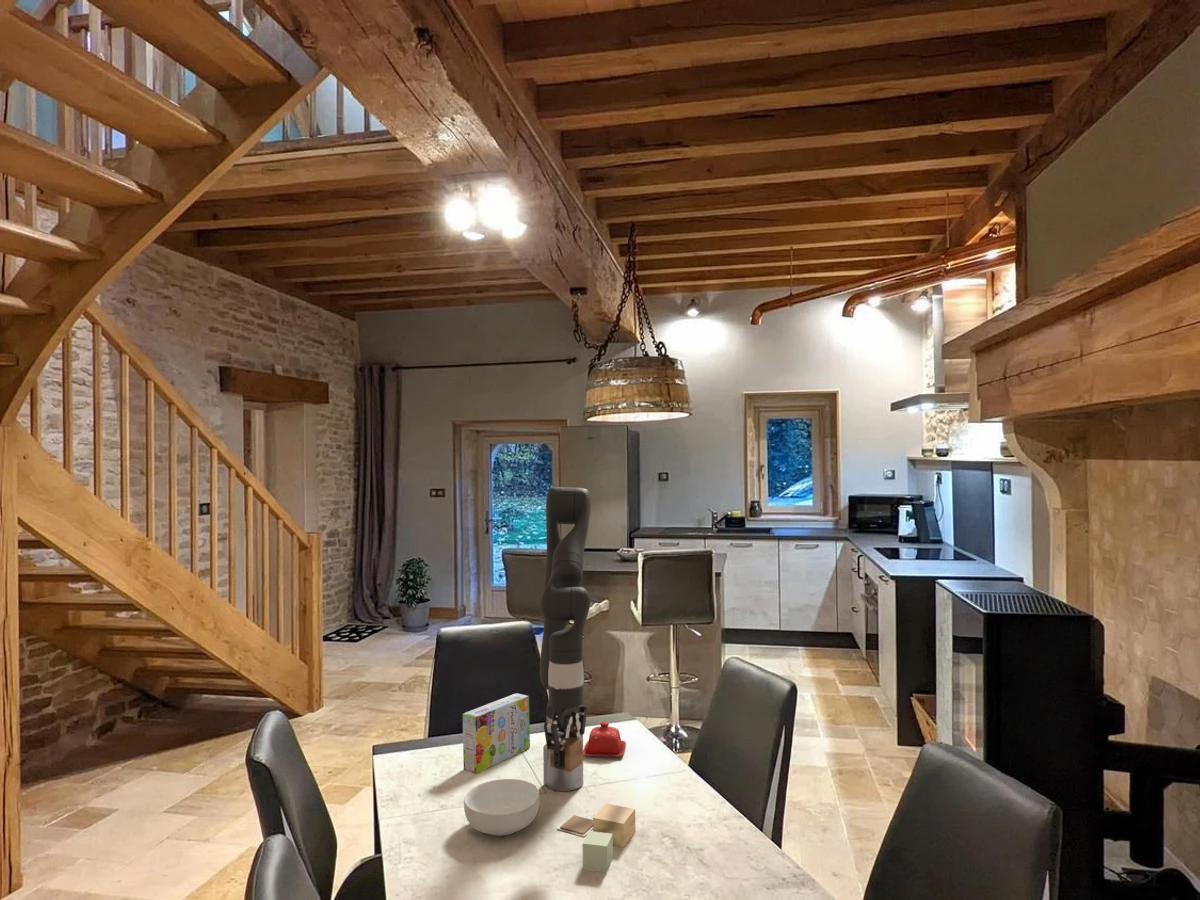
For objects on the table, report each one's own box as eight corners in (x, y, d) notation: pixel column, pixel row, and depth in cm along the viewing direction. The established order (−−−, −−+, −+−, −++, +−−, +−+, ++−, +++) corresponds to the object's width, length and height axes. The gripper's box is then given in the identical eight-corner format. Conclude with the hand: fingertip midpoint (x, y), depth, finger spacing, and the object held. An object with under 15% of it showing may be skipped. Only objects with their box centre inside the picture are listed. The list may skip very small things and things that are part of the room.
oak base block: (593, 841, 147) (592, 817, 148) (605, 826, 154) (605, 803, 154) (623, 848, 145) (623, 823, 145) (635, 832, 151) (635, 808, 151)
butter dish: (587, 743, 202) (587, 714, 203) (626, 745, 201) (626, 715, 201) (581, 759, 191) (581, 728, 191) (623, 761, 190) (622, 729, 190)
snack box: (516, 744, 202) (516, 692, 203) (530, 748, 199) (530, 695, 199) (462, 769, 185) (461, 712, 185) (476, 774, 181) (476, 716, 182)
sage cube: (582, 869, 137) (582, 843, 137) (589, 855, 142) (588, 830, 142) (607, 872, 136) (607, 846, 136) (613, 858, 141) (612, 833, 141)
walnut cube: (550, 767, 146) (550, 742, 146) (562, 758, 150) (562, 735, 150) (570, 771, 143) (570, 747, 143) (582, 763, 147) (582, 739, 148)
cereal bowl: (456, 817, 158) (456, 786, 159) (526, 803, 165) (526, 773, 165) (473, 854, 143) (473, 819, 143) (550, 837, 149) (550, 803, 150)
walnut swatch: (557, 829, 152) (557, 827, 152) (573, 816, 158) (573, 814, 158) (584, 836, 149) (584, 834, 149) (599, 823, 155) (599, 820, 155)
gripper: (568, 670, 155) (569, 747, 155) (532, 688, 143) (532, 772, 142) (597, 675, 152) (598, 754, 151) (563, 693, 139) (563, 779, 138)
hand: (566, 762), depth 147 cm, fingers closed on walnut cube, 5 cm apart
